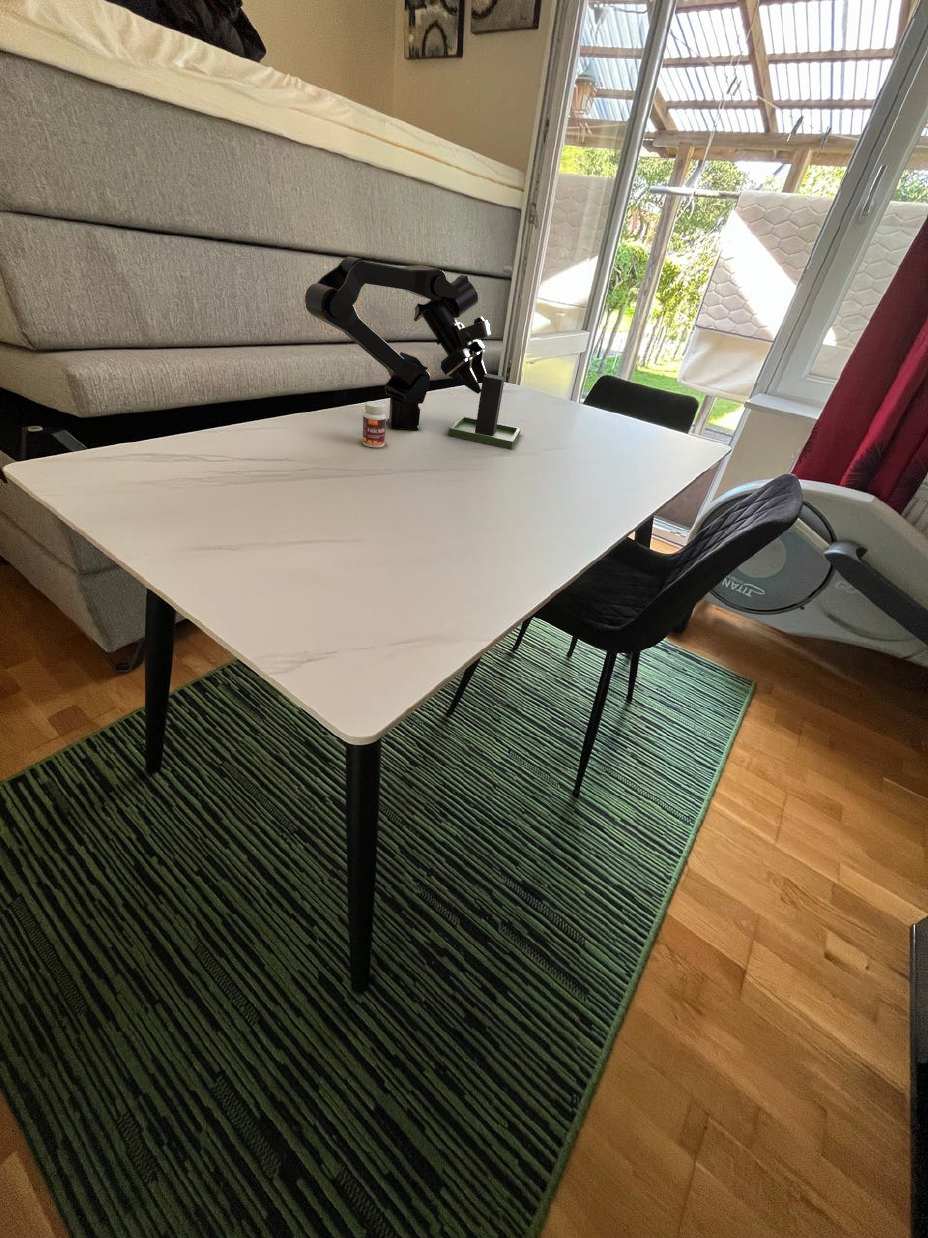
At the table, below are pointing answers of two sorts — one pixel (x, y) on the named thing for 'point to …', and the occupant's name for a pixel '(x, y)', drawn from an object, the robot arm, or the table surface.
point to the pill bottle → (374, 424)
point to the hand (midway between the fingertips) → (484, 388)
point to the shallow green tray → (466, 430)
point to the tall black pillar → (489, 404)
